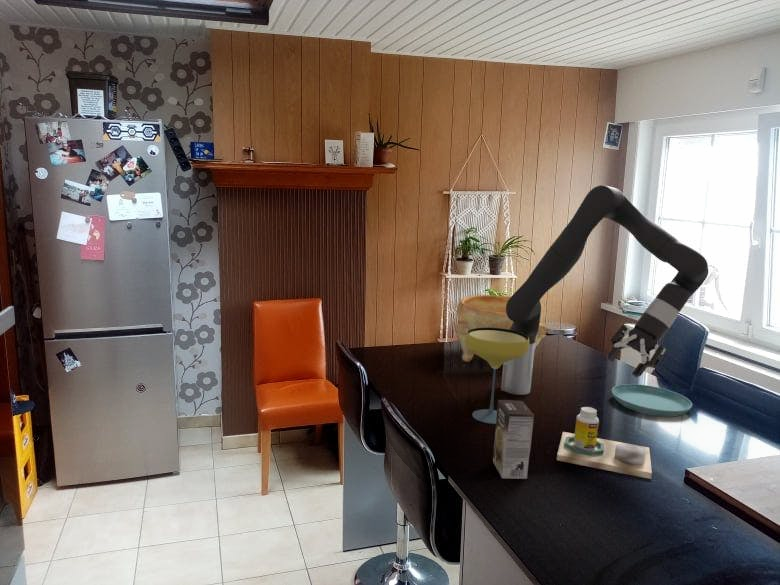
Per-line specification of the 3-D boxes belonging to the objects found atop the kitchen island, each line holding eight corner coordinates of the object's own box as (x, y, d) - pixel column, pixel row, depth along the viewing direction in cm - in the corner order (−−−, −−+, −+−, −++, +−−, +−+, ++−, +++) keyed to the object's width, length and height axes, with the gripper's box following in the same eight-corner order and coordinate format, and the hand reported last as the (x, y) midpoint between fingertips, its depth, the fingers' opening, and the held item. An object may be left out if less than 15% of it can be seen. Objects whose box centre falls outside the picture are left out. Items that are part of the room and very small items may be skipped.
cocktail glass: (523, 411, 186) (531, 331, 182) (519, 433, 169) (528, 346, 165) (464, 402, 191) (471, 324, 186) (455, 423, 174) (461, 338, 169)
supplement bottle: (586, 453, 155) (590, 415, 153) (568, 444, 159) (573, 407, 158) (600, 448, 158) (604, 411, 156) (582, 440, 163) (587, 404, 161)
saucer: (643, 422, 183) (645, 411, 183) (595, 394, 206) (596, 385, 205) (708, 417, 190) (710, 407, 190) (655, 391, 213) (656, 382, 212)
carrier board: (556, 460, 153) (558, 445, 153) (562, 436, 168) (563, 423, 168) (651, 478, 146) (653, 463, 145) (648, 452, 161) (650, 438, 160)
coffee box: (491, 461, 151) (497, 399, 148) (516, 461, 151) (522, 399, 149) (501, 479, 142) (507, 413, 139) (528, 479, 143) (534, 413, 140)
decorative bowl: (433, 347, 253) (436, 293, 249) (508, 345, 264) (513, 293, 260) (467, 373, 221) (472, 311, 217) (551, 369, 232) (557, 310, 228)
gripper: (630, 303, 168) (595, 351, 169) (674, 325, 157) (637, 376, 158) (641, 313, 173) (608, 360, 174) (685, 336, 162) (648, 385, 163)
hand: (621, 368), depth 166 cm, fingers open, 8 cm apart
